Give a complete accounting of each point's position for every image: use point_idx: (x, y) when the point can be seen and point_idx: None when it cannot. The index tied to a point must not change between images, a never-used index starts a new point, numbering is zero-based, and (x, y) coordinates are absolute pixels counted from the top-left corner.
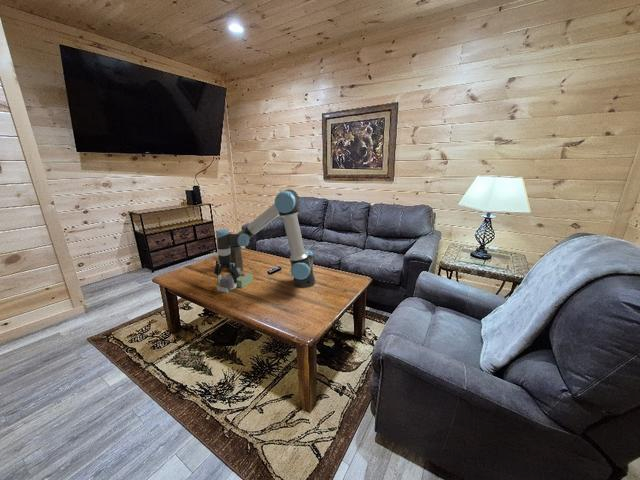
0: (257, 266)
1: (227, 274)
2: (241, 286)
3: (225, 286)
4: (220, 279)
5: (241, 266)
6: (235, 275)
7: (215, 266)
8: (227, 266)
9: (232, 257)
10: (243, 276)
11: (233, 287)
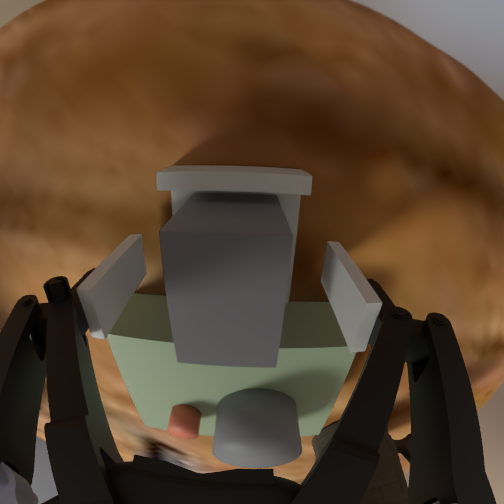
0: (266, 468)
1: (335, 390)
2: (130, 300)
3: (199, 205)
4: (287, 245)
5: (316, 460)
6: (11, 321)
7: (476, 422)
8: (67, 497)
9: (369, 499)
10: (169, 400)
11: (130, 237)
